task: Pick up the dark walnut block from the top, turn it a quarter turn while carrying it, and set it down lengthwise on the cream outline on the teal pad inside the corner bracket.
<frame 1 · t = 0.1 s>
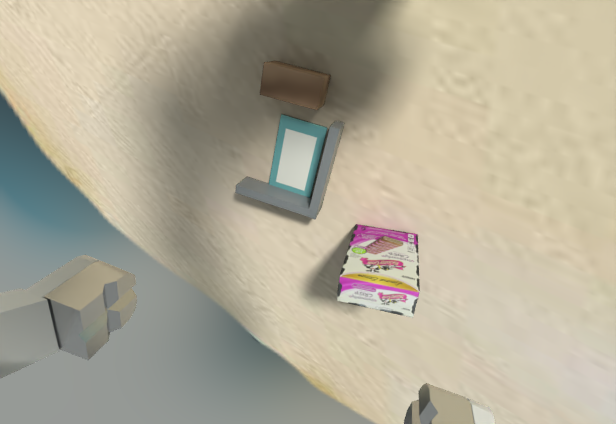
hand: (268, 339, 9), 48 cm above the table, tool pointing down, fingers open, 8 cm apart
corner bracket: (291, 155, 58), on the table
walnut block: (300, 83, 53), on the table
candy bar box: (383, 238, 61), on the table
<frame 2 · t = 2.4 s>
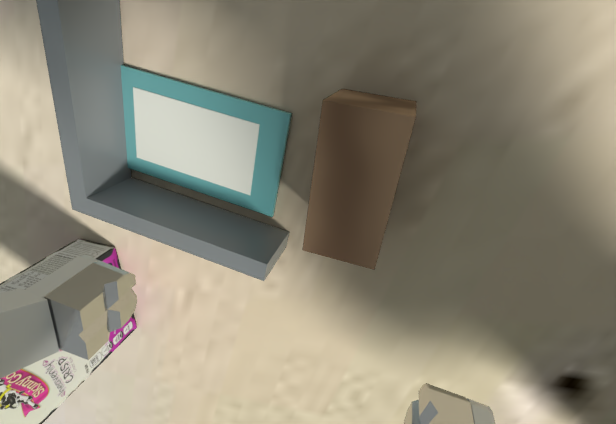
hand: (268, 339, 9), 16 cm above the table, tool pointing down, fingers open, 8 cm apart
corner bracket: (202, 130, 25), on the table
walnut block: (363, 164, 22), on the table
candy bar box: (112, 283, 36), on the table
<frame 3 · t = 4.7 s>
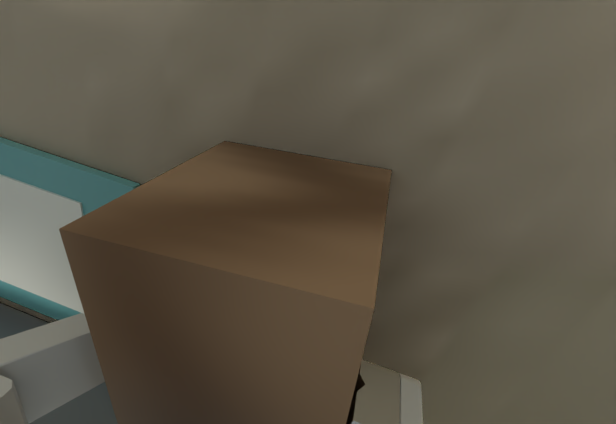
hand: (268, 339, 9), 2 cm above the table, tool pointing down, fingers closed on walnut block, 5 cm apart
walnut block: (292, 288, 11), on the table, touching gripper
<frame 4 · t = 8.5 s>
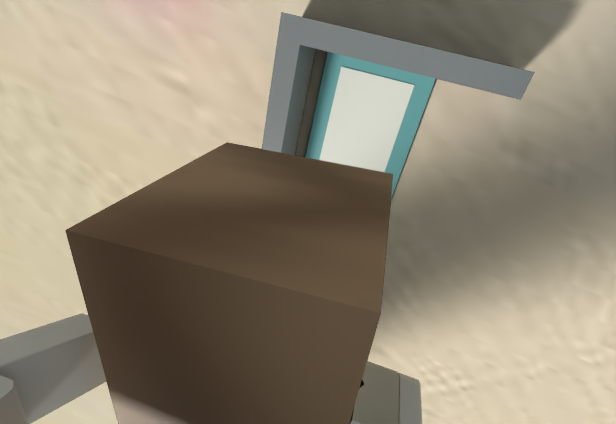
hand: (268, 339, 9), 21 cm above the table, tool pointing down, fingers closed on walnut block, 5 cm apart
corner bracket: (369, 149, 27), on the table
walnut block: (291, 290, 11), point 19 cm above the table, touching gripper
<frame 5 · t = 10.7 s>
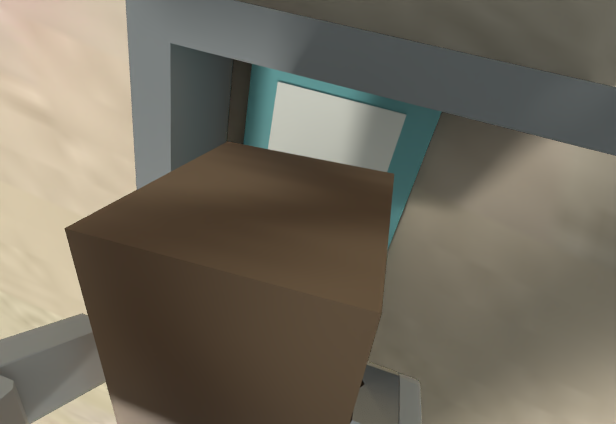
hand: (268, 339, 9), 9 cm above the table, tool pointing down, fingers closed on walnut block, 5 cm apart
corner bracket: (334, 214, 17), on the table
walnut block: (291, 289, 11), point 6 cm above the table, touching gripper
when the fingers open (3 cm above the table, at t = 12.8 s): walnut block stays where it is, resting on corner bracket.
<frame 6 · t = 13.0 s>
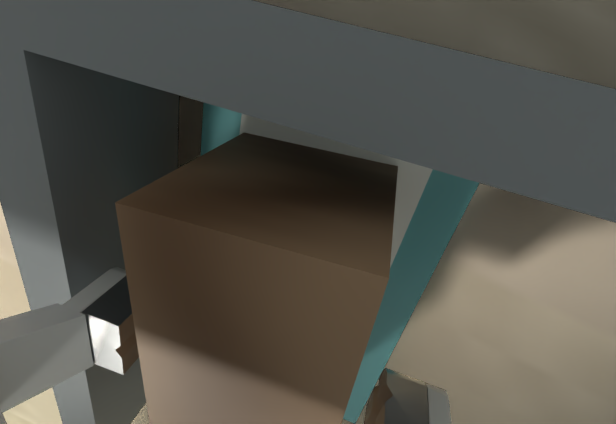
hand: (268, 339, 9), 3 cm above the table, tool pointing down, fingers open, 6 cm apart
corner bracket: (326, 285, 12), on the table
walnut block: (298, 273, 12), resting on corner bracket
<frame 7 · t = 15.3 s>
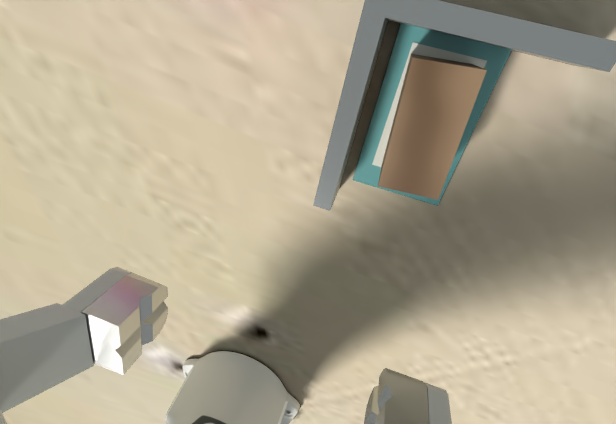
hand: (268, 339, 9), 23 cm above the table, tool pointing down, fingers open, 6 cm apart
corner bracket: (433, 126, 28), on the table
walnut block: (422, 118, 27), resting on corner bracket
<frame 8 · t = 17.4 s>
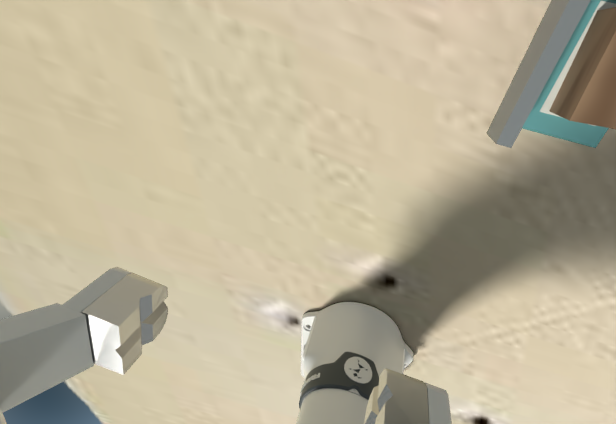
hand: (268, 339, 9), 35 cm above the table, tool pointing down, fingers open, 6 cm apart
corner bracket: (603, 75, 32), on the table
walnut block: (597, 68, 32), resting on corner bracket
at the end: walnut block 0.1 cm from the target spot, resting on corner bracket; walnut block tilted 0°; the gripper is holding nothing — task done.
